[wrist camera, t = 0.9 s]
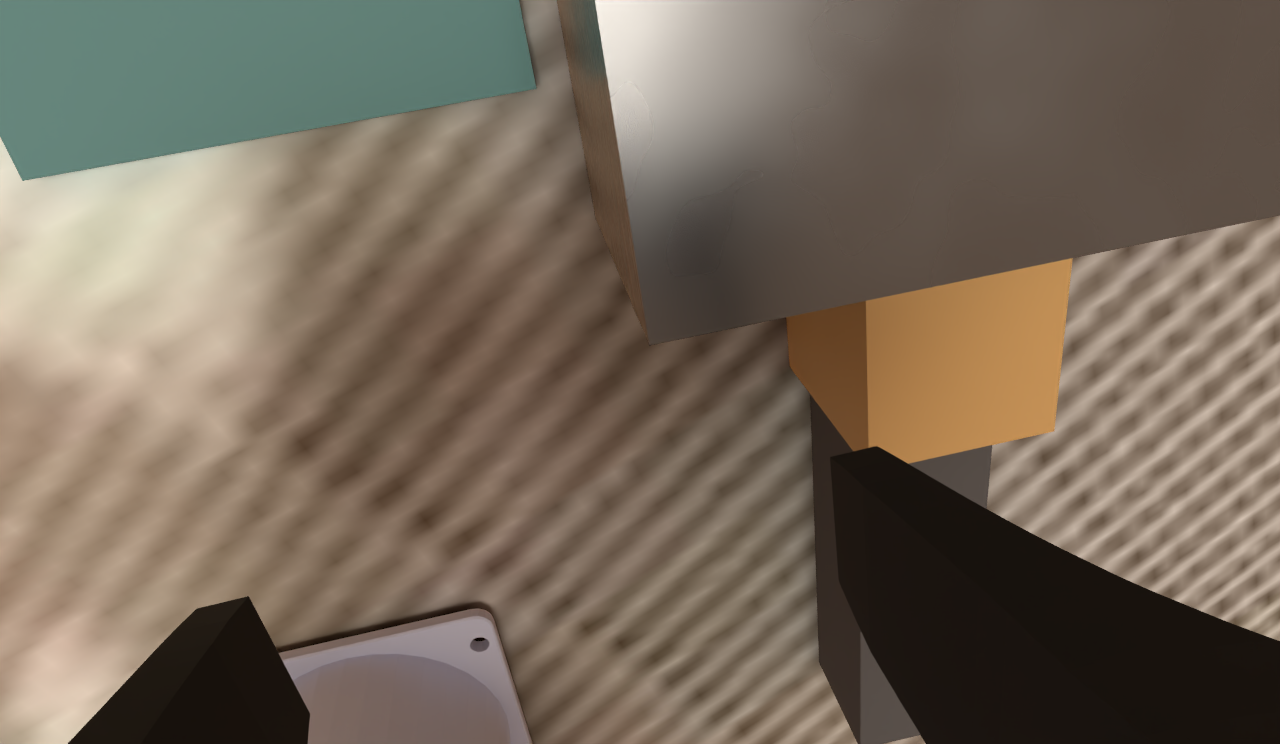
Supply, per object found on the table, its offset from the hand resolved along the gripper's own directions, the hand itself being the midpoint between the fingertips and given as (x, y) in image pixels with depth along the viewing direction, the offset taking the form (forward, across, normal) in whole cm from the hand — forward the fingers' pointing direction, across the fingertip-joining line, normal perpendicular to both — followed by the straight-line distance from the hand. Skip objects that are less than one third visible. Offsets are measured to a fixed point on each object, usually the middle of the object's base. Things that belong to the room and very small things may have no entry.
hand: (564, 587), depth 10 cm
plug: (+10, -8, +1) cm, 13 cm away
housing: (+10, -8, -4) cm, 13 cm away
